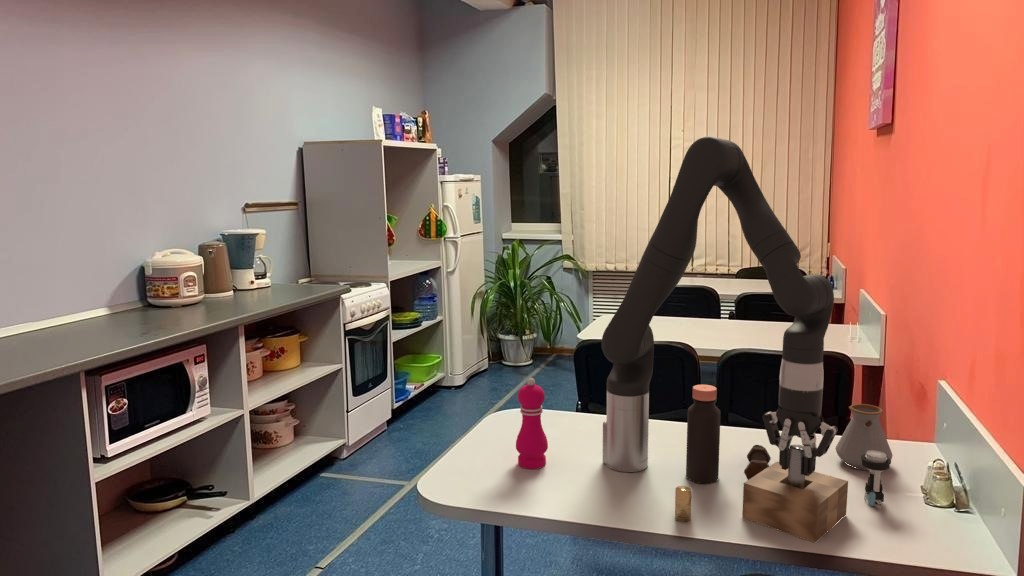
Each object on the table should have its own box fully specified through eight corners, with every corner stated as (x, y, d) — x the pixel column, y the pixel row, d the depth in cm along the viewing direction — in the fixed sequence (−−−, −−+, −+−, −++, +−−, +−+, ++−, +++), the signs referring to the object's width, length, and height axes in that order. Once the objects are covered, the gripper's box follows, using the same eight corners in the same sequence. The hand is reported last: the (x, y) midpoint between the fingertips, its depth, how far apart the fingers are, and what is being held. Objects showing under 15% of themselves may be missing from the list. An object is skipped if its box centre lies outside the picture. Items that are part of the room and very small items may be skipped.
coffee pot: (835, 451, 174) (838, 388, 172) (890, 458, 170) (894, 394, 167) (833, 487, 155) (837, 418, 153) (895, 496, 151) (901, 425, 148)
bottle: (724, 477, 161) (727, 387, 158) (708, 487, 156) (711, 394, 153) (695, 468, 165) (698, 381, 162) (679, 478, 160) (682, 388, 157)
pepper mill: (531, 473, 164) (530, 385, 161) (509, 463, 170) (508, 378, 166) (554, 464, 169) (554, 378, 166) (532, 455, 174) (532, 371, 171)
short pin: (671, 519, 142) (672, 489, 141) (680, 513, 145) (681, 484, 144) (685, 524, 140) (686, 494, 139) (694, 518, 142) (694, 488, 142)
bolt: (761, 466, 171) (761, 492, 156) (741, 454, 172) (740, 478, 157) (775, 446, 169) (777, 470, 155) (755, 434, 170) (755, 456, 156)
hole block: (742, 517, 143) (743, 482, 141) (775, 494, 152) (777, 461, 151) (815, 542, 133) (817, 505, 132) (846, 515, 143) (848, 481, 142)
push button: (894, 511, 144) (897, 462, 142) (864, 510, 145) (867, 461, 143) (883, 496, 151) (886, 449, 149) (854, 495, 151) (858, 448, 150)
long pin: (783, 517, 143) (786, 447, 140) (790, 512, 145) (793, 443, 142) (798, 522, 141) (802, 451, 138) (805, 517, 143) (809, 447, 140)
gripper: (848, 386, 136) (842, 476, 139) (773, 371, 146) (769, 455, 149) (831, 395, 131) (826, 488, 134) (755, 380, 141) (751, 467, 143)
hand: (796, 470), depth 141 cm, fingers open, 3 cm apart
